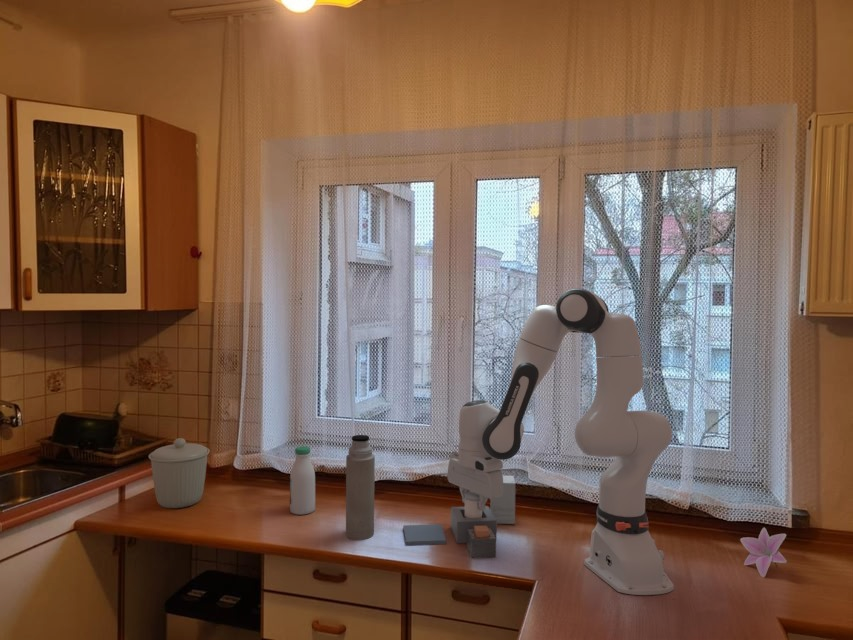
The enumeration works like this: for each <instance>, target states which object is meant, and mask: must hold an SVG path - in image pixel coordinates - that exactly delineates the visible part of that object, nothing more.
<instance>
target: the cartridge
mask: <svg viewBox="0 0 853 640" xmlns="http://www.w3.org/2000/svg"><path fill="white" fill-rule="evenodd" d="M480 500H481V499H480V495H479V494H476V493H474V492H471V491H469V490H467V492H465V503H464V507H465V513H464V518H482V511H481V510H479V509H477V503H480Z"/></svg>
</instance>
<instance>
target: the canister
mask: <svg viewBox="0 0 853 640" xmlns="http://www.w3.org/2000/svg"><path fill="white" fill-rule="evenodd" d="M210 451H211V450H210V448H208V447H206V446H204V445H202V444H198V443H189V442H187V441H186V440H185V439H184V438H183V437H181V438H176V439H174V441H173V443H172V444H169V445H165V446H161V447H159V448H156V449H155V450H154V451H151V452H150V453H149V454H148V459H149V460H150V461H151V462H150V463H151V472H152V478H153V485H154V486H153V487H154V492H155V499H156V501H157V503H158V505H159V506H161V507H162V508H166V509H181V508H186V507H190V506H193V505H195V504H197V503H198V502H200V501H201V499H202V497H203V494H204V488H205V480H206V474H207V463H208V455H209V454H210Z"/></svg>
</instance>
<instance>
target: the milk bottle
mask: <svg viewBox="0 0 853 640" xmlns="http://www.w3.org/2000/svg"><path fill="white" fill-rule="evenodd" d="M294 451H295V455H294V456H295V460H294V462H293V465H292V468H291V470H290V475H289V478H290V479H289V481H290V482H289V510H290V512H291V514H292V515H297V516H299V515H301V516H302V515H303V516H304V515H308V514H309V515H310V514H311V513H313V512H315V509H316V473H315V468H314V466H313V464H312V461H311V457H310V455H311V447H310V446H307V445H306V446H304V445H303V446H302V445H301V446H297V447H295V449H294Z"/></svg>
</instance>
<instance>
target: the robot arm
mask: <svg viewBox="0 0 853 640" xmlns="http://www.w3.org/2000/svg"><path fill="white" fill-rule="evenodd" d="M569 333H577V334H578V333H580V334H590V335H591V337H592V338H593V340H594V344H595V345H594V346H595V357H596V361H595V363H596V388H595V394H594V397H593V401H592V403H591V405H590V407H589V408H588V410H587V411H586V413H585V414H584V415H583V416H582V417H581V418H579V420H578V422H576V423H577V424H576V425H575V429H574V438H575V442H576V445H577V446H578V448H579V449H580V451H581V452H582V453H583V454H585V455H587V456H591V457H596V458H597V457H599V458H614V457H615V459H614V460H613V462H612V463H611V465H610V466H609V467H607V468H606V469H605V470H604V471H602V474H601V475H600V478H599V481H598V482H599V487H598V488H599V491H598V492H599V493H598V505H597V507H596V521H597V523H596V525H595V526H594V528H593V530H592V531H591V534H590V542H589V543H590V544H589V554H588V557H586V558H585V559H584V563H583V564H584V566H585V567H586V568H588V569H589V570H590V571H592V572H593V573H594V574H595V575H596V576H598V577H599V578H600V579H601V580H603V581H604V582H605V583H607V584H608V585H609V586H610V587H612V588H613V589H614V590H615V591H617V592H619V593H622V594H627V595H632V596H633V595H634V596H636V595H637V596H651V595H663V594H667V593H669V592H670V593H671V592H672V591H674V590H675V585H674V583H673V582H672V581H671V579H670V577H669V576H668V574H667V573H666V572H665V570H664V566H663V565H664V564H663V563H664V562H663V561H664V560H665V554H664V553H665V552H664V551H663V550H660V549H659V550H658V548H657V546H656V541H655V539H653V538H652V536H651V533H650V531H649V529H650V528H649V527H650V526H649V524H650V523H649V519H648V516H647V511H646V493H647V483H648V479H649V476H650V473H651V470H652V468H653V466H654V464H655V462H656V460H657V458H658V457H659V456H660V454H662V452H663V451H664V450H666V449H667V448H668V447H669V446H670V443H671V441H672V437H673V431H672V427H671V426H672V425H671V424H670V421H669V420H668V418H667V417H666V416H664V415H663V414H662V413H660V412H655V411H650V410H644V409H643V410H629V405H630V402H631V401H632V398H633V397H634V396H635V395H637V394H638V393H639V392H640V391H641V390H642V389H643V386H644V374H643V373H644V372H643V359H642V349H641V347H642V346H641V340H640V336H639V335H640V334H639V331H638V328H637V324H636V321H635V320H634V319H633V318H632V316H629V315H628V314H624V313H617V312H616V313H613V312H612V313H611V312H610V311H609V307H608V304H607V303H606V302H605V300H604V299H603V298H602V297H599V295H597V293H595V292H593V291H590V290H588V289H584V288H573V289H572V288H571V289H569V290H567V291H565V292H563V293H562V294H561V295H560V297H559V298H558V300H557V302H556V306H553V305H550V304H542V305H538V306H536V307H534V309H533V310H531V313H530V315H529V316H528V318H527V320H526V322H525V324H524V326H523V328H522V330H521V333H520V336H519V337H518V340H517V343H516V346H515V350H514V355H513V361H512V367H511V368H512V370H511V377H510V382H509V386H508V389H507V392H506V393H505V396H504V399H503V401H502V404H501V407H500V408H499V409H498V408H496V407H495V406H493V405H492V404H491V403H489V402H488V401H487V400H483V399H479V400H478V399H477V400H471V401H468V402H466V403H464V404H463V405H462V407H461V409H460V411H459V418H458V434H459V443H458V451H453V452H451V454H450V455H449V456H450V457H449V461H448V466H447V474H446V475H447V480H448V482H449V483H450V484H452V485H455V486H457V487H459V493H460V495H461V500H462V501H461V502H462V503H464V504H465V492H467V491H471V492H474V493H476V494H479V495H480V499H481V500H480V503H477V509H479V510H481V511H482V510H485V506H486V503H487V502H488V500H495V499H499V498H501V497H502V495H503V476H504V475H503V472H502V471H501V469H503V468H504V462H503V461H504V460H510V459H512V458H513V457H514V456H516V455H517V454H518V453H519V450H520V449H521V444H522V440H523V436H524V431H525V430H524V424H523V419H524V416H525V414H526V412H527V408H528V406H529V403H530V401H531V398H532V396H533V394H534V392H535V390H536V389H537V387H538V386H539V385H540V383H541V382H542V380H543V379H544V377H545V376H546V375H547V374H548V372H549V370H550V369H551V367H552V365H553V364H554V361H555V359H556V357H557V355H558V352H559V349H560V347H561V344H562V342H563V340H564V338H565V336H566V335H568V334H569Z"/></svg>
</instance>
